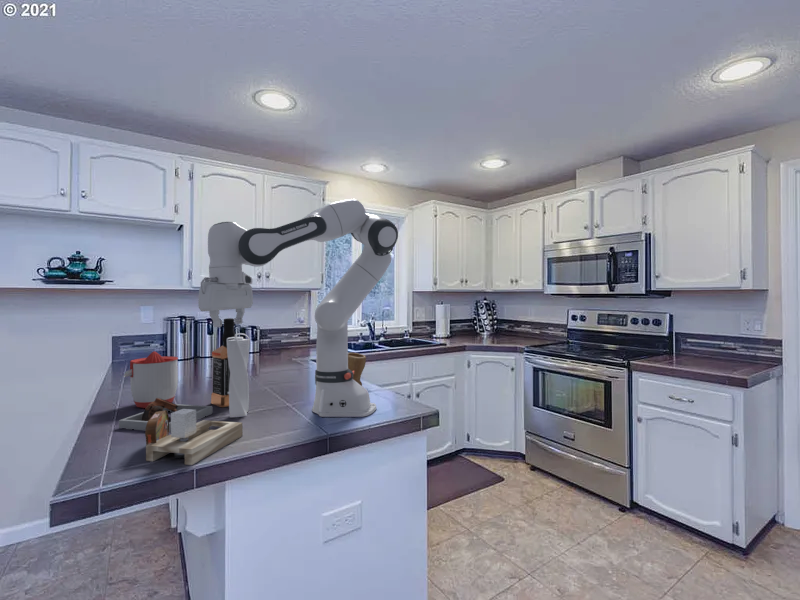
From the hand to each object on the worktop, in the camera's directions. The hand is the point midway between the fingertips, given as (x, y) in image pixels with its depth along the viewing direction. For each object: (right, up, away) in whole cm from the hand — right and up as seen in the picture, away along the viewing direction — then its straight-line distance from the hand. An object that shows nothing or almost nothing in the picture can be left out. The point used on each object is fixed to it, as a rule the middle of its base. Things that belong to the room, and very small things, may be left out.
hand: (228, 325), depth 115 cm
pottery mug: (-28, -32, +12) cm, 45 cm away
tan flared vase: (+29, -31, +59) cm, 73 cm away
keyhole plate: (-4, -32, -10) cm, 34 cm away
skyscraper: (-5, -32, +19) cm, 37 cm away
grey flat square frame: (-25, -32, +13) cm, 43 cm away
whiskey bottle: (-15, -32, +34) cm, 49 cm away
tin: (-14, -32, -10) cm, 36 cm away
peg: (-5, -32, -15) cm, 36 cm away
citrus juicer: (-43, -32, +32) cm, 62 cm away
